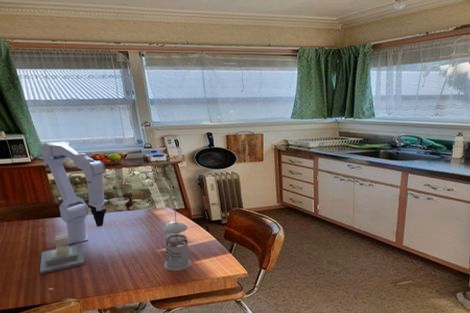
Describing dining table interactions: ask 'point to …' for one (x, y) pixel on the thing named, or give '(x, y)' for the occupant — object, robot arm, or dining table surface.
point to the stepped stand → (61, 259)
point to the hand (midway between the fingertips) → (98, 223)
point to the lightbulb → (172, 233)
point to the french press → (180, 259)
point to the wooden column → (62, 244)
